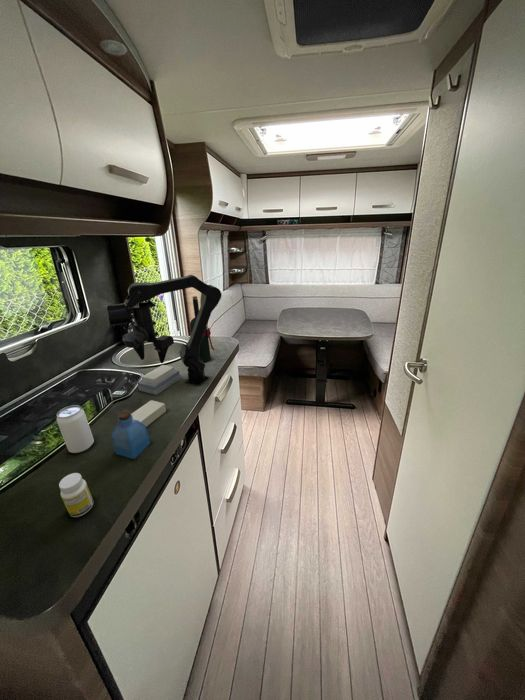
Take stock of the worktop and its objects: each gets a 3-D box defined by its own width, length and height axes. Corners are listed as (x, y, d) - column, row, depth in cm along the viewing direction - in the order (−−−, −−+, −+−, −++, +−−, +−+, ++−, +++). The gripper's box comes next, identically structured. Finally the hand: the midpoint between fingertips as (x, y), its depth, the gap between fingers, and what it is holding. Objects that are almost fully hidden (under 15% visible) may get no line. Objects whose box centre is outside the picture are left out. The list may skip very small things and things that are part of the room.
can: (82, 455, 76) (69, 419, 71) (62, 452, 77) (48, 417, 73) (99, 439, 82) (88, 405, 77) (80, 436, 83) (68, 403, 78)
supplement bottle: (76, 499, 63) (65, 471, 60) (97, 497, 64) (87, 470, 60) (64, 519, 59) (51, 490, 56) (87, 517, 59) (75, 488, 56)
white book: (163, 368, 115) (162, 364, 115) (174, 371, 113) (173, 367, 112) (142, 381, 106) (141, 376, 106) (154, 384, 104) (153, 379, 103)
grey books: (164, 374, 119) (163, 366, 117) (181, 378, 115) (180, 370, 114) (138, 390, 107) (137, 382, 106) (156, 395, 104) (154, 386, 102)
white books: (152, 407, 96) (151, 399, 95) (166, 411, 94) (164, 403, 93) (126, 426, 87) (124, 418, 86) (141, 430, 85) (139, 423, 84)
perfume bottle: (150, 443, 80) (141, 408, 75) (134, 459, 74) (124, 422, 70) (132, 439, 82) (123, 404, 77) (116, 454, 76) (105, 418, 71)
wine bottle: (213, 363, 128) (206, 298, 116) (191, 362, 128) (182, 298, 117) (217, 356, 135) (211, 294, 123) (197, 355, 136) (188, 294, 124)
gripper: (104, 325, 92) (115, 366, 99) (147, 330, 86) (156, 375, 92) (130, 316, 102) (139, 354, 108) (171, 320, 95) (178, 361, 101)
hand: (152, 361), depth 102 cm, fingers open, 9 cm apart
